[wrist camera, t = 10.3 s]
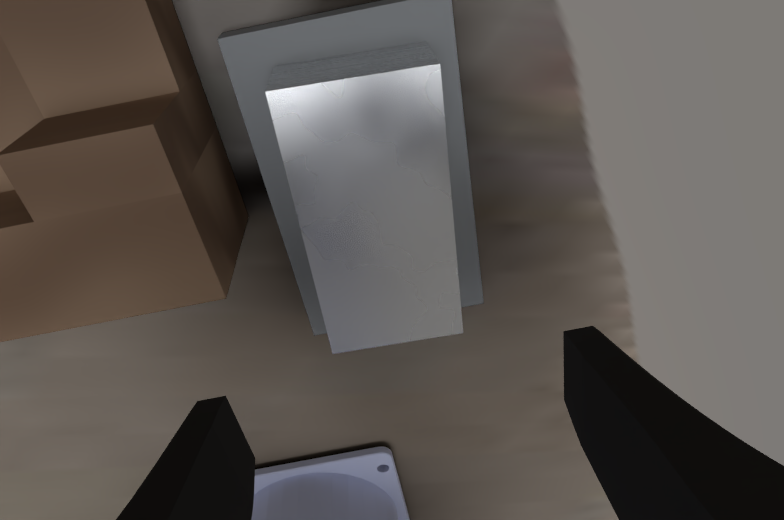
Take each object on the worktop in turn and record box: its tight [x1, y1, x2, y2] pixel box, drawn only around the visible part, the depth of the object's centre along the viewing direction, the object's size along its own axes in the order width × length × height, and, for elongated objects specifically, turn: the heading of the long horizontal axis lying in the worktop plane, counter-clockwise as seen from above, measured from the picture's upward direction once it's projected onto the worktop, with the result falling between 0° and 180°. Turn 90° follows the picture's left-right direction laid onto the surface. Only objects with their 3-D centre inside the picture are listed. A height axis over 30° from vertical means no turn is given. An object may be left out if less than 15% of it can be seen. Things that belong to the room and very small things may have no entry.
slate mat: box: [217, 0, 484, 336], centre depth 17 cm, size 10×6×1 cm, turn 10°
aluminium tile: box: [265, 41, 463, 354], centre depth 16 cm, size 8×4×2 cm, turn 8°
